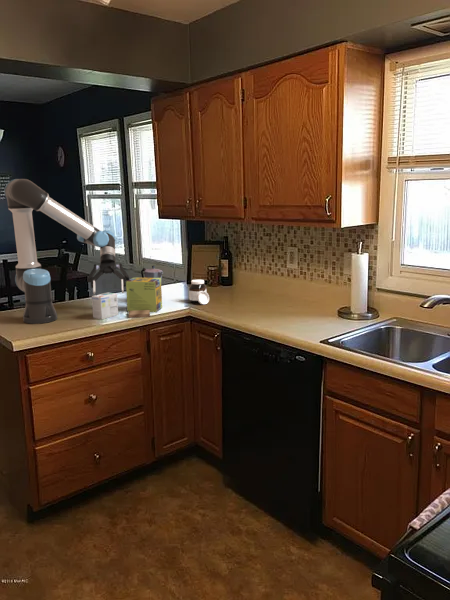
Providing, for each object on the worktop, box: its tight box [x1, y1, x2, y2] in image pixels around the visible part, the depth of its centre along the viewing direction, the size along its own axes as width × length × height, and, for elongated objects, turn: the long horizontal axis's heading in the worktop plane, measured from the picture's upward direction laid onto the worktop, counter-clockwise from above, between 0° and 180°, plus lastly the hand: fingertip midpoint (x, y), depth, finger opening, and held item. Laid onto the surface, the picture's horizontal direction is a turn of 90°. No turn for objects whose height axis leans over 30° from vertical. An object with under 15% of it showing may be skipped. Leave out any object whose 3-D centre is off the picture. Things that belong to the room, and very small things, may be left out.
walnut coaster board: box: [128, 310, 151, 319], centre depth 254 cm, size 10×8×2 cm
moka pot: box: [140, 265, 164, 281], centre depth 280 cm, size 10×15×20 cm, turn 60°
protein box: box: [125, 277, 163, 313], centre depth 264 cm, size 10×15×16 cm
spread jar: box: [188, 279, 210, 305], centre depth 279 cm, size 12×11×12 cm
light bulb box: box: [91, 291, 119, 320], centre depth 252 cm, size 11×7×11 cm, turn 144°
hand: (108, 292), depth 257 cm, fingers open, 13 cm apart
